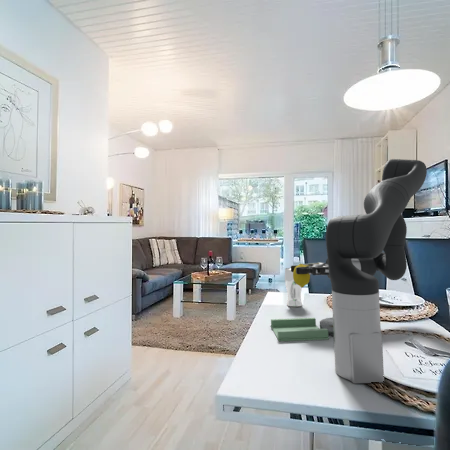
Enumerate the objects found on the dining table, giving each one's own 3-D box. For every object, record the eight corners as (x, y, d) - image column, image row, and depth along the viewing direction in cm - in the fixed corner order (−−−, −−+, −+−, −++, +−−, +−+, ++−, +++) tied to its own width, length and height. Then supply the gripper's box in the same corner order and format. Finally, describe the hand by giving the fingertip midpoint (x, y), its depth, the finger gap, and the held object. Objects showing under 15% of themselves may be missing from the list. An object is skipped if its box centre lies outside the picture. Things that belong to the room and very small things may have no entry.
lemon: (311, 289, 98) (310, 264, 98) (293, 289, 99) (292, 264, 99) (310, 286, 103) (308, 262, 103) (293, 286, 104) (292, 263, 105)
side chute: (329, 339, 84) (328, 330, 84) (278, 341, 84) (278, 332, 84) (314, 324, 97) (313, 317, 98) (270, 326, 97) (270, 318, 97)
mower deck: (379, 337, 84) (379, 330, 84) (329, 339, 84) (329, 332, 84) (357, 322, 98) (356, 316, 98) (313, 324, 98) (313, 318, 98)
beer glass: (282, 304, 126) (281, 268, 126) (297, 302, 128) (296, 267, 128) (291, 308, 119) (289, 270, 120) (306, 306, 121) (305, 268, 122)
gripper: (333, 255, 109) (287, 257, 108) (352, 258, 95) (299, 260, 94) (334, 276, 109) (288, 278, 108) (353, 282, 95) (300, 284, 94)
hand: (293, 269), depth 101 cm, fingers closed on lemon, 5 cm apart
